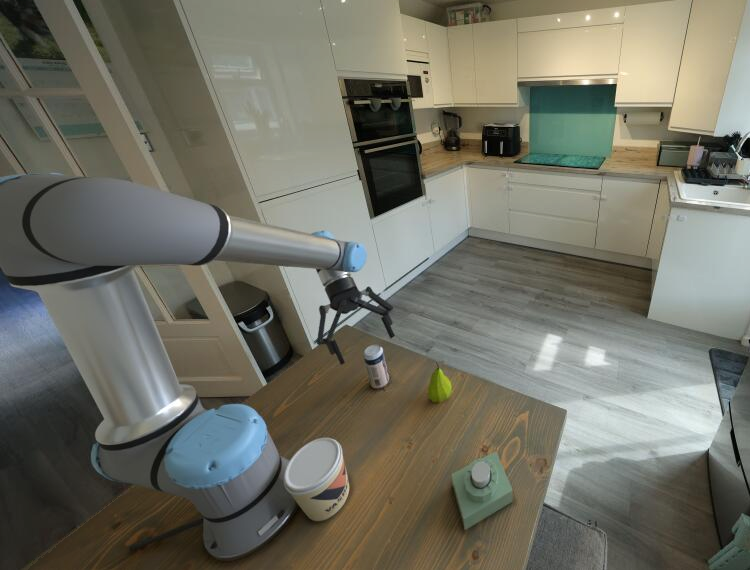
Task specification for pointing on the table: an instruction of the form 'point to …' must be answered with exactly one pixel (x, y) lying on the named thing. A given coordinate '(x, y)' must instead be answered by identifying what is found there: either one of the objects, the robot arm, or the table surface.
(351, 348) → the table surface
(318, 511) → the ice cream tub
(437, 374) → the fruit
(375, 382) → the beer can
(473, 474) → the grey button cap
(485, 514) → the grey button cap base
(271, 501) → the robot arm
